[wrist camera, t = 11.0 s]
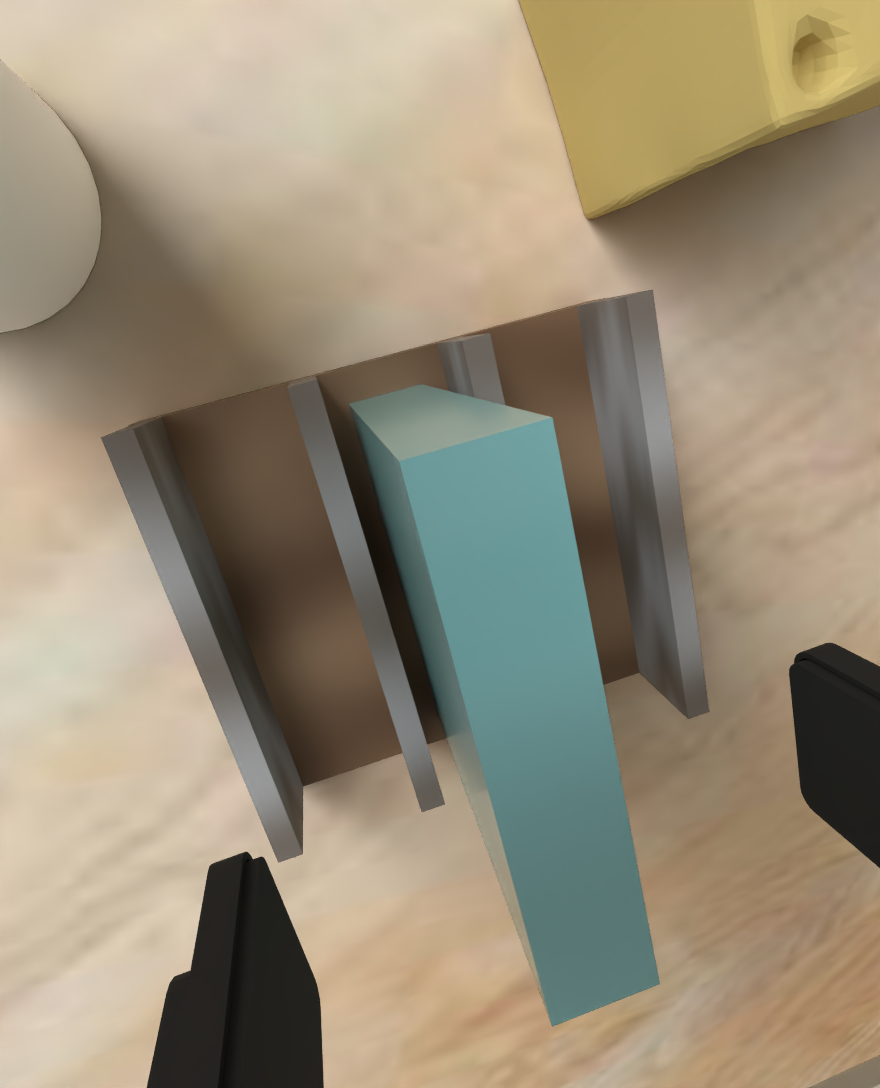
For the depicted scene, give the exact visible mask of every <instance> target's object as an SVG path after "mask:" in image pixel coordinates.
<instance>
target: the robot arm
mask: <svg viewBox="0 0 880 1088" xmlns="http://www.w3.org/2000/svg"><path fill="white" fill-rule="evenodd" d="M789 676H790V686H791V696H792V707H793V717H794V727H795V737H796V747H797V757H798V768H799V778H800V788H801V792H802V795H803V797H804V799H805V801H806V803H807V804H808V806H809V807H810V808H811V809H812V810H813V811H814V812H815V813H816V814H817V815H818V816H820V817H821V818H822V819H823V820H824V821H825V822H827V823H828V824H829V825H830V826H831V827H832V828H834V829H835V830H836V831H837V832H838V833H839V834H841V835H842V836H843V837H844V838H845V839H847V840H848V841H849V842H850V843H851V844H852V845H854V846H855V847H856V848H857V849H858V850H859V851H861V852H862V853H863V854H864V855H865V856H866V857H868V858H869V859H870V860H871V861H872V862H873V863H875V864H876V865H877V866H878V867H879V868H880V667H879V666H877V665H876V664H874V663H872V662H870V661H868V660H866V659H864V658H862V657H860V656H858V655H856V654H854V653H852V652H850V651H848V650H846V649H844V648H842V647H840V646H838V645H836V644H833V643H825V644H823V645H820V646H817V647H814V648H811V649H809V650H806V651H803V652H800V653H799V654H797V655H796V657H795V660H794V664H793V665H792V666H791V667H790V669H789ZM147 1088H324V1085H323V1058H322V1032H321V1007H320V998H319V992H318V987H317V984H316V980H315V978H314V975H313V973H312V970H311V968H310V966H309V963H308V961H307V958H306V956H305V954H304V951H303V949H302V946H301V944H300V942H299V939H298V937H297V934H296V932H295V930H294V927H293V925H292V923H291V920H290V918H289V915H288V913H287V911H286V908H285V906H284V903H283V901H282V899H281V896H280V894H279V891H278V889H277V887H276V884H275V882H274V879H273V877H272V875H271V872H270V870H269V867H268V865H267V863H266V861H265V859H264V858H263V857H259V858H256V859H252V857H251V855H250V854H249V853H248V852H244V853H241V854H238V855H235V856H233V857H230V858H227V859H224V860H221V861H219V862H216V863H213V864H211V865H210V867H209V870H208V874H207V880H206V886H205V892H204V897H203V903H202V909H201V914H200V920H199V926H198V931H197V937H196V943H195V948H194V954H193V960H192V965H191V971H188V972H185V973H183V974H180V975H177V976H175V977H174V978H173V979H172V981H171V982H170V984H169V987H168V990H167V994H166V998H165V1003H164V1008H163V1013H162V1017H161V1022H160V1027H159V1032H158V1037H157V1041H156V1046H155V1051H154V1056H153V1061H152V1065H151V1070H150V1075H149V1080H148V1085H147ZM809 1088H880V1055H879V1056H877V1057H874V1058H872V1059H870V1060H868V1061H866V1062H863V1063H861V1064H859V1065H857V1066H855V1067H852V1068H850V1069H848V1070H846V1071H844V1072H841V1073H839V1074H837V1075H835V1076H833V1077H831V1078H828V1079H826V1080H824V1081H822V1082H820V1083H817V1084H815V1085H813V1086H811V1087H809Z"/></svg>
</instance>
